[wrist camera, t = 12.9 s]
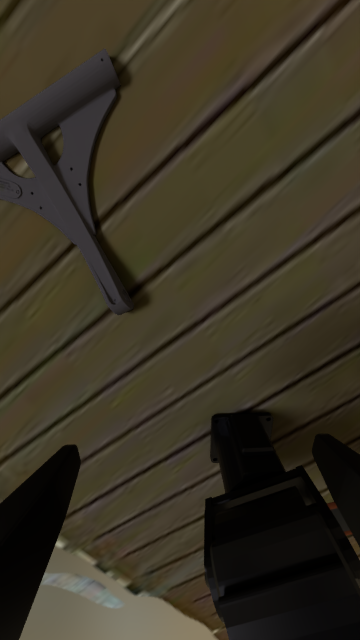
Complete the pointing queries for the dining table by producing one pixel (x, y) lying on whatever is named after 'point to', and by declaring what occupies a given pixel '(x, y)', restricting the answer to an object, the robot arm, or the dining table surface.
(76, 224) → the bracket
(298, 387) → the dining table surface
